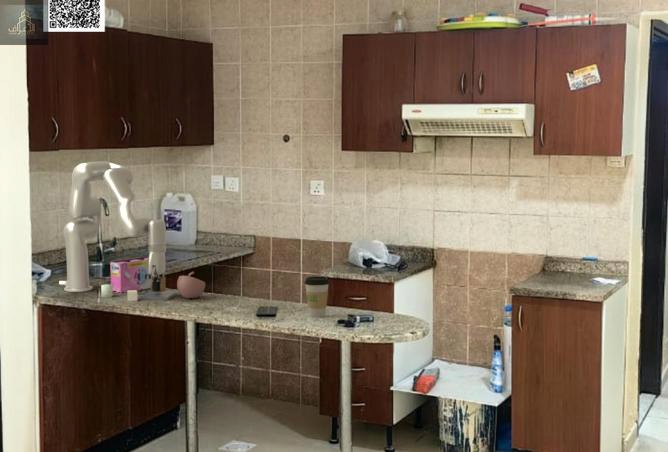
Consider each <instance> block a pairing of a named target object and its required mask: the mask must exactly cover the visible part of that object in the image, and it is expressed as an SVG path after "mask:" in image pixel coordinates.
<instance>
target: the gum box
mask: <svg viewBox="0 0 668 452" xmlns="http://www.w3.org/2000/svg"><path fill="white" fill-rule="evenodd" d="M109 265H110V268H109V269H110V284H111V285H112V286H113V291H116V292H115V293H118V292H120V293H119V294H123V293H122V292H124V293H127V291H129V290H137V291H141V289H143V290H148V289H151V278H152V277H151V275H149V255H148V256H141V257H136V258H128V259H122V260H113V261H110V263H109ZM155 275H157V274H155Z"/></svg>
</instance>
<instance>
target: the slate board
mask: <svg viewBox="0 0 668 452" xmlns="http://www.w3.org/2000/svg"><path fill="white" fill-rule="evenodd" d="M176 294H178V292H177V291H166V290H165V291H164V292H151V290H150V291H148V292H147V293H144V294H143V295H141V296H140V297H139V300H142V301H146V300H145V299H148V300H147V301H169V300H170V299H172V298H173V297H175V296H177V295H176ZM174 295H175V296H174ZM171 297H172V298H171Z"/></svg>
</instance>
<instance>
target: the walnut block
mask: <svg viewBox="0 0 668 452" xmlns="http://www.w3.org/2000/svg"><path fill="white" fill-rule="evenodd" d="M155 277H157V276H155ZM159 282H160V291H153V290H152V278H151V288H150V291H151V292H164V291H165V292H166V291H167V288H166V287H167V285H166V283H167V282H166V276H164V277H159Z"/></svg>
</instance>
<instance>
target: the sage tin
mask: <svg viewBox="0 0 668 452" xmlns="http://www.w3.org/2000/svg"><path fill="white" fill-rule="evenodd" d="M100 287H101V289H100V293H101V298H105V299H106V298H113V296H114V294H113V293H114V292H113V286H112V285H111V283H110V284H109V283H107V284H106V283H105V284H101V286H100Z"/></svg>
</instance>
